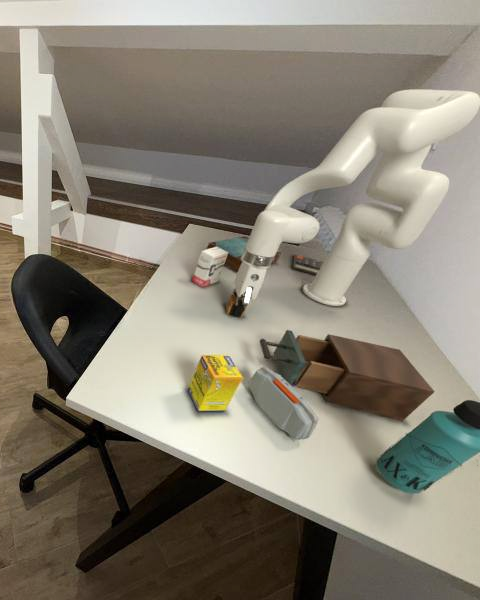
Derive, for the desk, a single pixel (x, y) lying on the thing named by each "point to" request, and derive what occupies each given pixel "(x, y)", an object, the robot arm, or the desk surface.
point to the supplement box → (214, 383)
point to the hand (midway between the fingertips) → (234, 310)
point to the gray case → (283, 404)
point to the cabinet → (376, 380)
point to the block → (230, 303)
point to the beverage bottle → (433, 448)
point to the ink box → (209, 266)
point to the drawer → (306, 362)
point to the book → (235, 251)
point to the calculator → (306, 264)
